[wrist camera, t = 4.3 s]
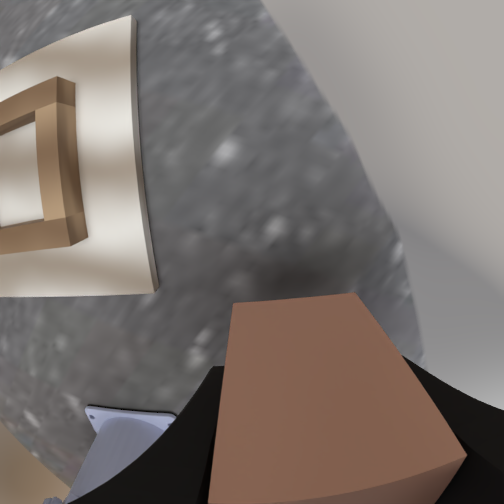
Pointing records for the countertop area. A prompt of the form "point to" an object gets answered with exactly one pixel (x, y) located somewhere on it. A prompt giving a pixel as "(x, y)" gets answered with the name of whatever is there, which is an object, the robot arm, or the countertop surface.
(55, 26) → the countertop surface
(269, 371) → the peg
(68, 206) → the socket
